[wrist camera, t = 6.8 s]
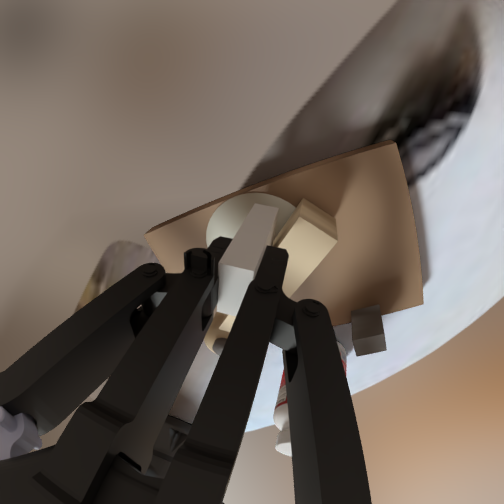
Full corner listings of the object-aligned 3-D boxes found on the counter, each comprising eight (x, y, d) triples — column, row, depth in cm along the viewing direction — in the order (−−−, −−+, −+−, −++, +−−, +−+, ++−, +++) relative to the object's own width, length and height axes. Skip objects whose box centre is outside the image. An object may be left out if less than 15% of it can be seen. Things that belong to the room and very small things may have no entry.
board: (223, 337, 28) (208, 371, 24) (152, 227, 23) (121, 254, 19) (419, 298, 20) (432, 338, 16) (390, 139, 15) (412, 152, 11)
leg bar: (243, 339, 25) (233, 369, 22) (210, 320, 24) (196, 349, 21) (342, 223, 17) (346, 252, 14) (295, 192, 17) (289, 215, 14)
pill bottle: (357, 344, 24) (357, 447, 15) (327, 374, 28) (317, 463, 19) (302, 325, 25) (283, 434, 15) (278, 358, 28) (255, 450, 19)
